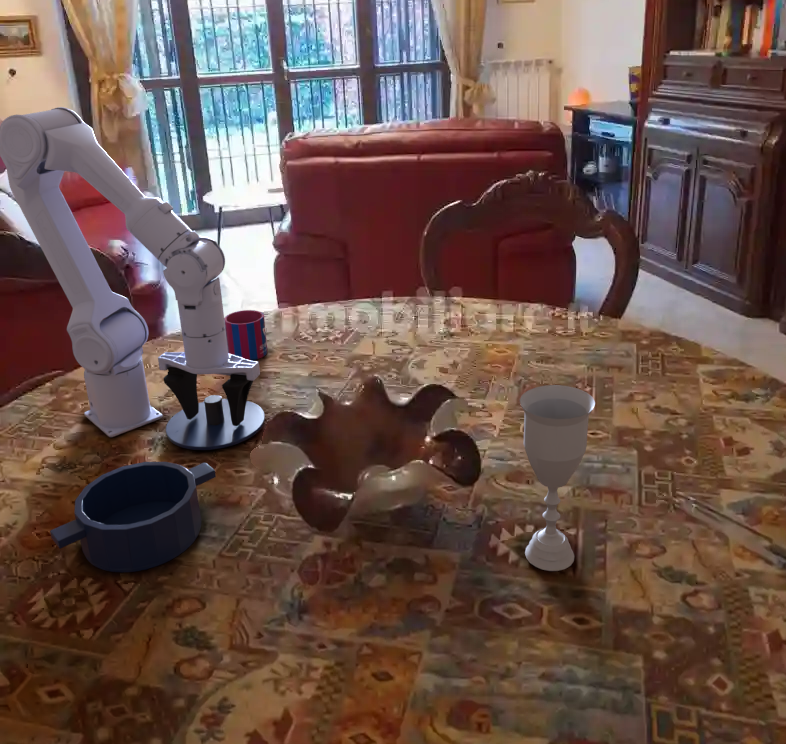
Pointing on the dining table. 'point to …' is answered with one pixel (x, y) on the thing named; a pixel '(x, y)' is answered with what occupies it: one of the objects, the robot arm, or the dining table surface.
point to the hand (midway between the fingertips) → (215, 419)
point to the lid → (214, 425)
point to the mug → (246, 334)
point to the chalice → (554, 460)
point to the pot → (137, 516)
